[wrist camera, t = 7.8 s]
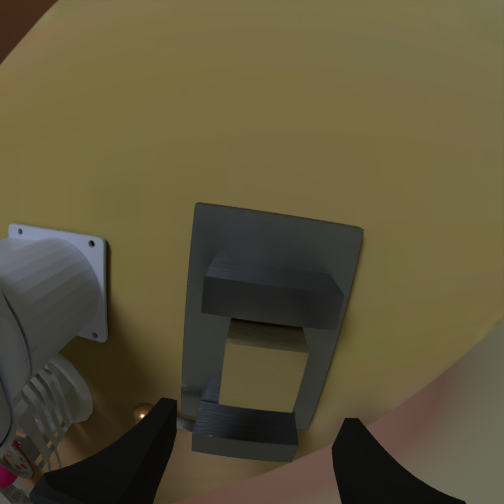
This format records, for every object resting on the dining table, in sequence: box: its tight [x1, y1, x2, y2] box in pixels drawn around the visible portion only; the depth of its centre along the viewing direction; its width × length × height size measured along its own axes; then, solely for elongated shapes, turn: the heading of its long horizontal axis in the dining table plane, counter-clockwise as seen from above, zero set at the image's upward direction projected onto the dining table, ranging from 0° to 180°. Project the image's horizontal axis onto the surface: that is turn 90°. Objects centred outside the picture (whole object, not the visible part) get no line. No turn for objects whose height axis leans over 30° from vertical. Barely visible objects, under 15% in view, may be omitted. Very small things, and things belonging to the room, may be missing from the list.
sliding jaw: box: [133, 401, 298, 462], centre depth 20 cm, size 12×2×4 cm, turn 82°
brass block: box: [218, 318, 309, 413], centre depth 17 cm, size 4×4×5 cm
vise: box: [181, 202, 364, 430], centre depth 19 cm, size 10×16×4 cm, turn 172°
